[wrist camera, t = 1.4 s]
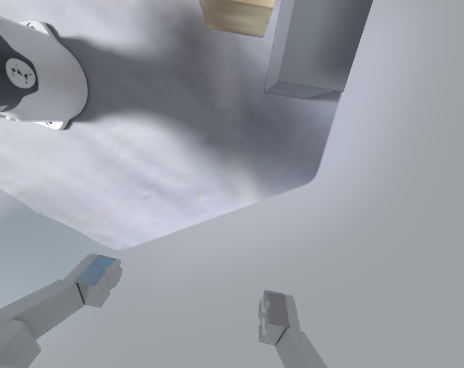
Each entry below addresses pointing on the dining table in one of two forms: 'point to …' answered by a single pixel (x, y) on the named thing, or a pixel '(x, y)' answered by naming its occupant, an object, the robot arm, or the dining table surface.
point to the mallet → (238, 15)
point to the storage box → (315, 46)
